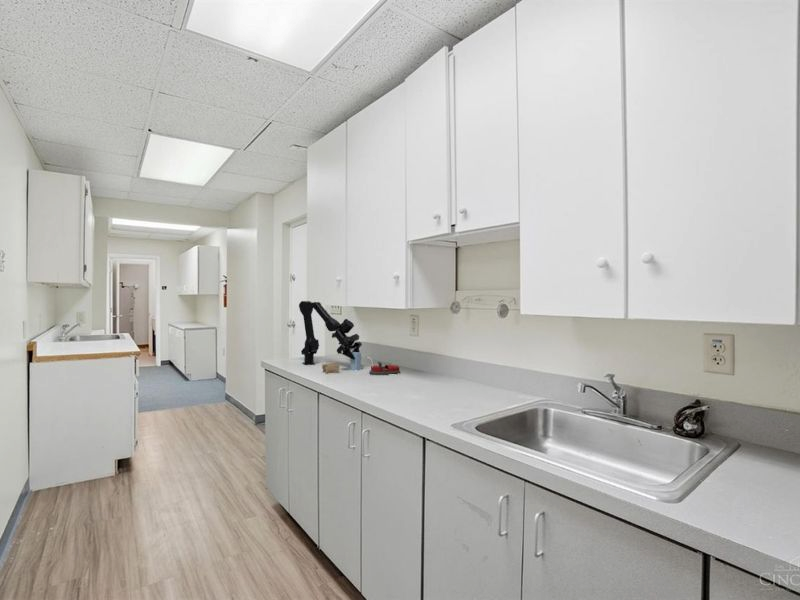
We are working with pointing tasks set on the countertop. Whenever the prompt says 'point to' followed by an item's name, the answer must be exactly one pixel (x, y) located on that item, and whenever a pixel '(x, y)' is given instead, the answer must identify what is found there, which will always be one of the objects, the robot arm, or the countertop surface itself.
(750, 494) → the countertop surface
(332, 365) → the slab top
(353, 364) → the pillar
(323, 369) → the slab bottom
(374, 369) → the bumper car
